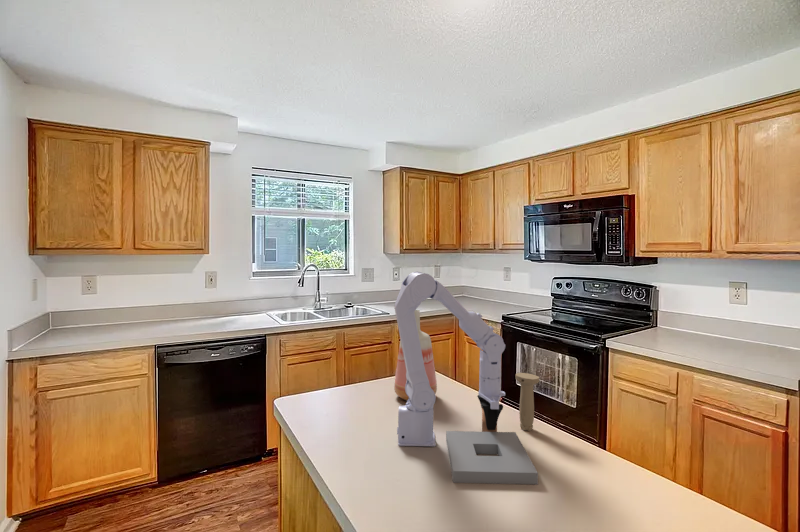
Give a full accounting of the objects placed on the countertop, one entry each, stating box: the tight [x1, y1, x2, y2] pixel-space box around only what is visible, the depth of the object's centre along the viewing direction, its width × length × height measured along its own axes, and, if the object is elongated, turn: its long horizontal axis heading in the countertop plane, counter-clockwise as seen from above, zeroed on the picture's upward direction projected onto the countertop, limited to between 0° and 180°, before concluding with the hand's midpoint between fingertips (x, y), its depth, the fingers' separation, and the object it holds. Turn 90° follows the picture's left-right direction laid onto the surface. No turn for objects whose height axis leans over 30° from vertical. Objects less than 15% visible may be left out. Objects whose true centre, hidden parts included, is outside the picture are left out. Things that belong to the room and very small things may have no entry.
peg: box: [481, 408, 498, 432], centre depth 113 cm, size 4×4×8 cm
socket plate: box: [445, 430, 539, 485], centre depth 100 cm, size 18×20×2 cm
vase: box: [393, 309, 438, 401], centre depth 142 cm, size 14×14×30 cm
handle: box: [515, 372, 540, 432], centre depth 117 cm, size 5×6×15 cm
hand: (489, 425), depth 113 cm, fingers closed on peg, 4 cm apart
